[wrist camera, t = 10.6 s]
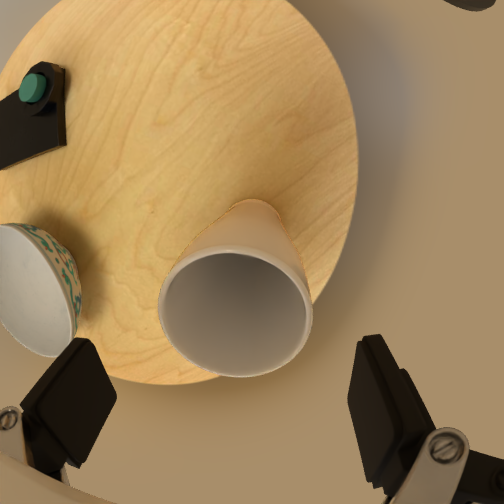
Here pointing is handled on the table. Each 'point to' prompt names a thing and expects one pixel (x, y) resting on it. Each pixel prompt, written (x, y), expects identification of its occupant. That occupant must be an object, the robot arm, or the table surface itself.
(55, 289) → the chinaware
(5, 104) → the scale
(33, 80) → the tare button
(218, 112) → the table surface
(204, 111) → the table surface
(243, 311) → the white tall cup
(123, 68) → the table surface
